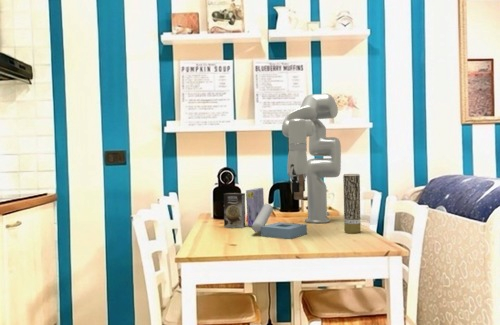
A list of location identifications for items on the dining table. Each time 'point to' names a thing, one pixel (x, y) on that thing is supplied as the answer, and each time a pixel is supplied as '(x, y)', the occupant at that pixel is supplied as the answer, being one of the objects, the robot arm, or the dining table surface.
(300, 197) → the peg
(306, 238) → the dining table surface
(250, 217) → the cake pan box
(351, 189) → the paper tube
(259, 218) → the tube
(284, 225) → the socket
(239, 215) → the coffee box
